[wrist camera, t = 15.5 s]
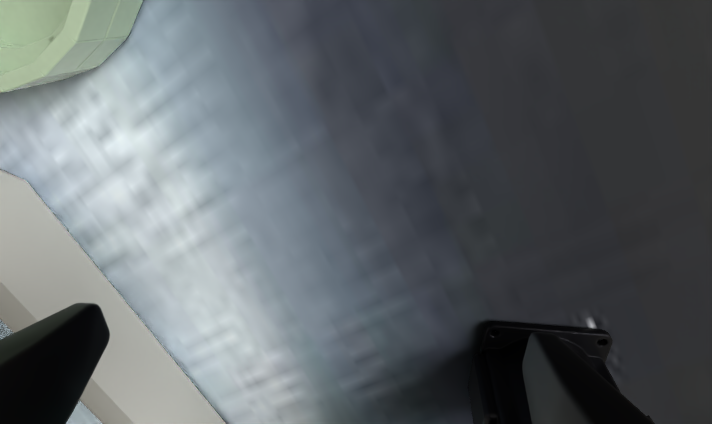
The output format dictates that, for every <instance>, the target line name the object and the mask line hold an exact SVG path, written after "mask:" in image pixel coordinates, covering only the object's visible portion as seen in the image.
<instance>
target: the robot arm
mask: <svg viewBox="0 0 712 424" xmlns="http://www.w3.org/2000/svg"><path fill="white" fill-rule="evenodd" d="M492 330H497V331H496V332H492ZM109 339H110V331H109V328H108V325H107V323H106V320H105V317H104V315H103V312H102V309H101V307H100V306H99V305H98V304H95V303H82V302H81V303H75V304H73V305H71V306H69V307H67V308H65V309H63V310H61V311H59V312H56V313H54V314H52V315H50V316H48V317H46V318H44V319H42V320H40V321H38V322H36V323H34V324H32V325H30V326H28V327H26V328H24V329H22V330H20V331H17V332H15V333H13V334H11V335H9V336H7V337H5V338H3V339H1V340H0V424H66V422H67V421H68V419H69V417H70V416H71V414H72V412H73V411H74V409H75V407H76V405H77V403H78V401H79V400H80V398H81V396H82V394H83V392H84V390H85V388H86V386H87V384H88V382H89V380H90V378H91V376H92V374H93V372H94V370H95V368H96V366H97V364H98V362H99V360H100V358H101V356H102V354H103V353H104V351H105V349H106V347H107V345H108V342H109ZM600 339H602V340H600ZM598 340H599V341H598ZM611 345H612V338H611V337H610V335H609V333H608V332H607V331H605V330H598V329H586V328H573V327H561V326H549V325H536V324H524V323H511V322H499V321H491V322H489V323H487V324H486V325H485V327H484V332H483V337H482V342H481V348H480V353H476V354H475V355H474V356H473V360H472V366H471V371H470V377H469V382H468V391H469V397H470V404H471V410H472V417H473V423H474V424H654V422H653V421H652V419H651V418H650V416H646V415H644V414H643V413H642V412H641V411H640V410H639V409H638V408H637V407H635V406H634V405H633V404H632V403H631V402H630V401H629V400H628V399H627V398H625V397H624V396H623V395H622V394H621V392H620V391H619V389H618V387H617V385H616V383H615V381H614V380H613V378H612V376H611V374H610V372H609V370H608V369H607V367H606V365H605V361H606V358H607V356H608V353H609V350H610V348H611Z"/></svg>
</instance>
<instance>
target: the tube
mask: <svg viewBox="0 0 712 424" xmlns="http://www.w3.org/2000/svg"><path fill="white" fill-rule="evenodd" d="M81 302H82V303H95V304H98V305H99V306H100V307H101V309H102V312H103V315H104V317H105V320H106V323H107V325H108V328H109V331H110V339H109V342H108V345H107V347H106V349H105V351H104V353H103V354H102V356H101V358H100V360H99V362H98V364H97V366H96V368H95V370H94V372H93V374H92V376H91V378H90V380H89V382H88V384H87V386H86V388H85V390H84V392H83V394H82V396H81V398H80V401H81V402H82V403H83V404H84V405H85V406H86V407H87V408H88V409H89V410H90V411H91V412H92V413H93V414H94V415H95V416H96V417H97V418H98V419H99V420H100V421H101V422H102V423H103V424H226V423H225V422H224V421H223V419H222V418H221V417H220V416H219V415H218V413H217V412H216V411H215V410H214V408H213V407H212V406H211V405H210V404H209V402H208V401H207V400H206V399H205V397H204V396H203V395H202V394H201V393H200V391H199V390H198V389H197V388H196V387H195V385H194V384H193V383H192V382H191V380H190V379H189V378H188V377H187V376H186V374H185V373H184V372H183V371H182V370H181V368H180V367H179V366H178V365H177V363H176V362H175V361H174V360H173V359H172V357H171V356H170V355H169V354H168V352H167V351H166V350H165V349H164V348H163V346H162V345H161V344H160V343H159V342H158V340H157V339H156V338H155V337H154V335H153V334H152V333H151V332H150V331H149V329H148V328H147V327H146V326H145V325H144V323H143V322H142V321H141V320H140V318H139V317H138V316H137V315H136V314H135V312H134V311H133V310H132V309H131V307H130V306H129V305H128V304H127V303H126V301H125V300H124V299H123V298H122V297H121V295H120V294H119V293H118V292H117V290H116V289H115V288H114V287H113V286H112V284H111V283H110V282H109V281H108V280H107V278H106V277H105V276H104V275H103V273H102V272H101V271H100V270H99V269H98V267H97V266H96V265H95V264H94V262H93V261H92V260H91V259H90V258H89V256H88V255H87V254H86V253H85V252H84V250H83V249H82V248H81V247H80V245H79V244H78V243H77V242H76V241H75V239H74V238H73V237H72V236H71V235H70V233H69V232H68V231H67V230H66V228H65V227H64V226H63V225H62V224H61V222H60V221H59V220H58V219H57V217H56V216H55V215H54V214H53V213H52V211H51V210H50V209H49V208H48V207H47V205H46V204H45V203H44V202H43V200H42V199H41V198H40V197H39V196H38V194H37V193H36V192H35V191H34V190H33V188H32V187H31V186H30V185H29V183H28V182H27V181H26V180H24V179H22V178H19V177H17V176H15V175H13V174H11V173H8V172H6V171H4V170H2V169H0V319H1V320H2V321H3V322H4V323H5V324H6V325H7V326H8V328H9V329H10V330H11V331H12V332H13V333H15V332H17V331H20V330H22V329H24V328H26V327H28V326H30V325H32V324H34V323H36V322H38V321H40V320H42V319H44V318H46V317H48V316H50V315H52V314H54V313H56V312H59V311H61V310H63V309H65V308H67V307H69V306H71V305H73V304H75V303H81Z"/></svg>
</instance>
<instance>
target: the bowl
mask: <svg viewBox="0 0 712 424" xmlns="http://www.w3.org/2000/svg"><path fill="white" fill-rule="evenodd" d="M142 2H143V0H0V93H4V92H9V91H14V90H19V89H23V88H28V87H33V86H37V85H42V84H46V83H51V82H56V81H60V80H65V79H67V78H70V77H72V76H75V75H78V74H80V73H83V72H86V71H88V70H91V69H93V68H96V67H98V66H99V65H101V64H102V63H103V62H104V61H105V60H106V59H107V58H108V57H109V56H110V55H111V54H112V53H113V52H114V51H115V50H116V49H117V48H118V47H119V46H120V45H121V44H122V43H123V42H124V40H125V39H126V38H127V36H129V34H130V31H131V29H132V27H133V24H134V22H135V19H136V17H137V14H138V12H139V10H140V7H141V5H142Z"/></svg>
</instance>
